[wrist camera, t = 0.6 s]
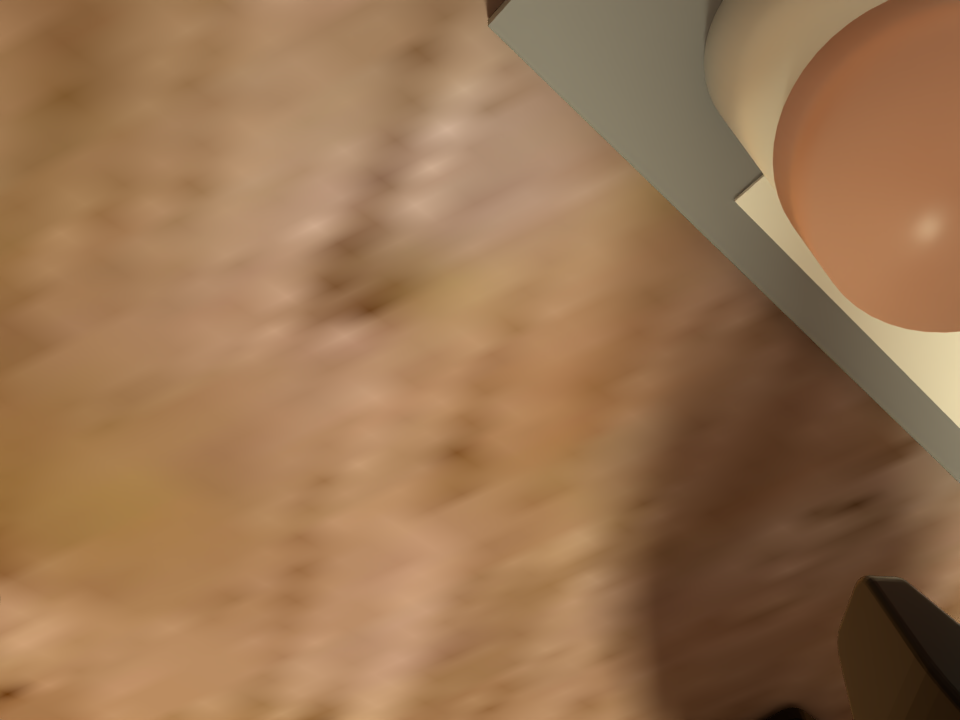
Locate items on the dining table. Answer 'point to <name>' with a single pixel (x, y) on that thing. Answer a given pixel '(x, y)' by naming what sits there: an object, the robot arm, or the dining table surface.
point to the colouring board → (725, 187)
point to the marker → (855, 139)
